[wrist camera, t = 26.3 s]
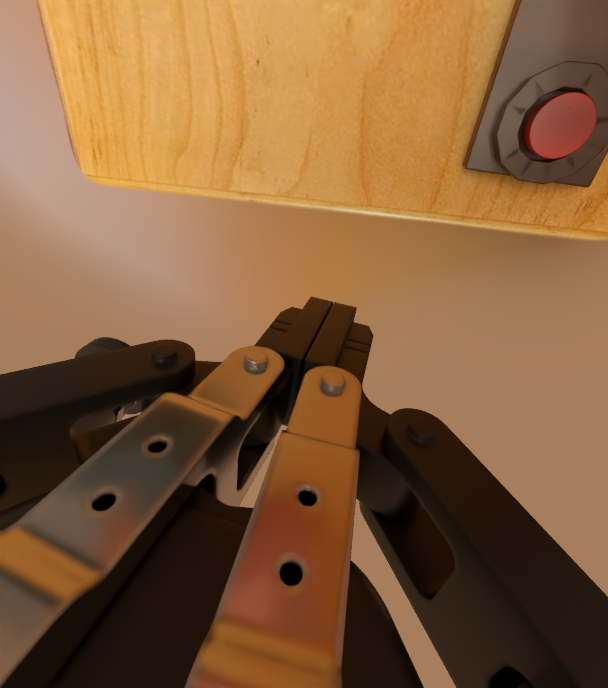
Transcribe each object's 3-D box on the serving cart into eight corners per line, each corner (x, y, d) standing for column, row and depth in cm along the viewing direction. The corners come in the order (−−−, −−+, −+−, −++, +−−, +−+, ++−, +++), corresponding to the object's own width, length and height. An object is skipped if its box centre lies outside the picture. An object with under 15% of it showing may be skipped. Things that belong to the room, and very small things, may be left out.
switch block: (577, 184, 25) (599, 192, 22) (461, 166, 26) (466, 172, 23) (674, -11, 20) (724, -38, 16) (522, -20, 21) (539, -47, 18)
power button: (567, 160, 22) (578, 162, 20) (513, 152, 22) (519, 154, 21) (597, 97, 20) (610, 95, 19) (537, 91, 21) (545, 88, 19)
